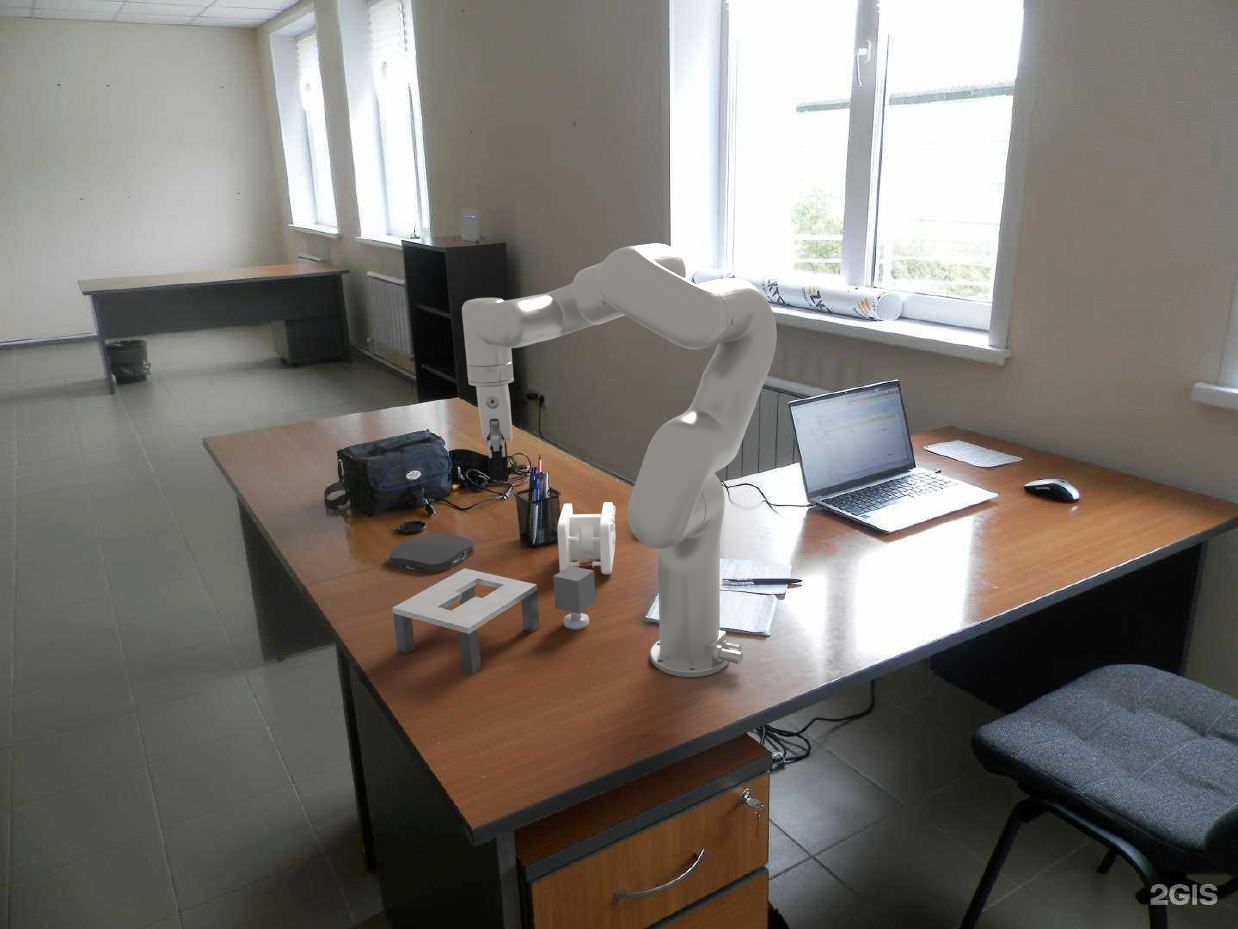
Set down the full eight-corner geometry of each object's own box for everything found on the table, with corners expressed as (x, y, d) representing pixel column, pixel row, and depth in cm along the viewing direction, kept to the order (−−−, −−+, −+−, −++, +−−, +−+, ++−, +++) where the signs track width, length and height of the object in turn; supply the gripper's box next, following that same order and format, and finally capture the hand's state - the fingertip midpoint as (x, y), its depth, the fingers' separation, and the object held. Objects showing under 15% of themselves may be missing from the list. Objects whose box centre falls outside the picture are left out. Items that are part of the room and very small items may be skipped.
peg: (596, 620, 157) (593, 570, 154) (580, 632, 153) (577, 581, 150) (572, 615, 159) (569, 565, 156) (556, 626, 155) (553, 576, 152)
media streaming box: (426, 542, 197) (425, 529, 196) (481, 551, 191) (480, 538, 190) (382, 566, 185) (380, 553, 184) (439, 577, 178) (438, 563, 177)
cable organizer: (567, 551, 188) (564, 499, 185) (617, 550, 188) (615, 498, 184) (559, 581, 174) (556, 524, 170) (613, 580, 173) (611, 523, 170)
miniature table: (539, 627, 155) (536, 584, 153) (472, 674, 140) (468, 628, 138) (468, 608, 163) (464, 568, 161) (397, 651, 148) (392, 607, 146)
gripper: (514, 381, 142) (522, 484, 146) (511, 363, 158) (519, 456, 163) (466, 384, 141) (476, 488, 145) (469, 366, 157) (477, 460, 162)
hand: (499, 471), depth 154 cm, fingers open, 9 cm apart
